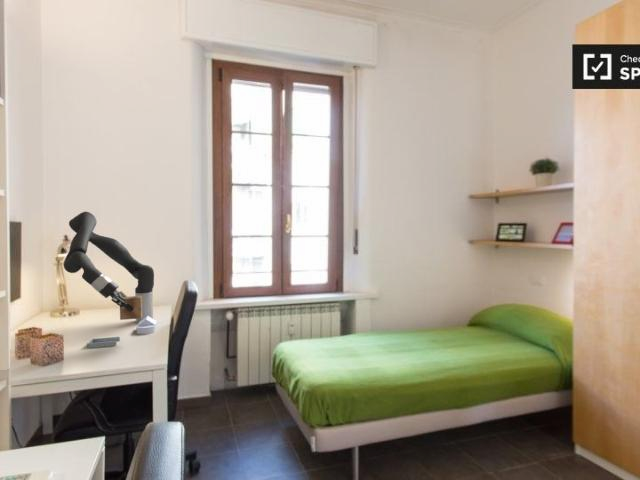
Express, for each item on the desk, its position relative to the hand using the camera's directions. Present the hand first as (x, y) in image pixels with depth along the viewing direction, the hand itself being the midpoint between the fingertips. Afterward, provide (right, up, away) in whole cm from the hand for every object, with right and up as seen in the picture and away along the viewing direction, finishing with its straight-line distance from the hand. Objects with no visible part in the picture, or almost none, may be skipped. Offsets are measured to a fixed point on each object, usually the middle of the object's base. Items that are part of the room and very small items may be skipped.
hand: (133, 309), depth 182 cm
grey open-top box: (-12, -16, -3) cm, 20 cm away
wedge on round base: (-3, -15, +20) cm, 25 cm away
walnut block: (-1, -4, 0) cm, 4 cm away
